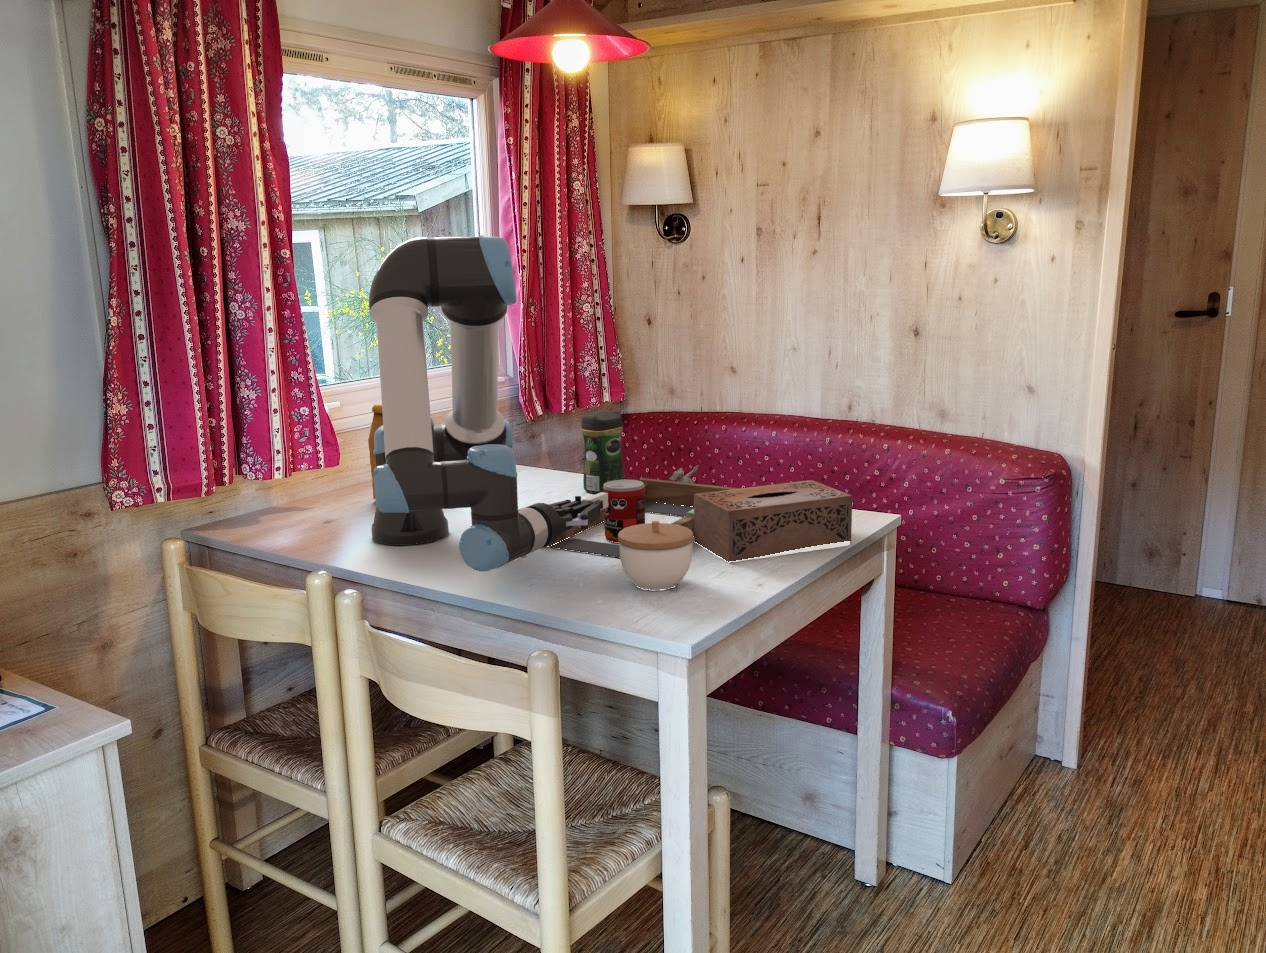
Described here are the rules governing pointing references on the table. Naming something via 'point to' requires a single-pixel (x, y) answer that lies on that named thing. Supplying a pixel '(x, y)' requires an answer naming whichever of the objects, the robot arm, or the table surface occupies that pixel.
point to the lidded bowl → (655, 554)
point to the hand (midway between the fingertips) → (604, 499)
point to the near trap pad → (589, 547)
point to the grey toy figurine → (685, 478)
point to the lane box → (662, 500)
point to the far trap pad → (667, 508)
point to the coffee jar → (602, 449)
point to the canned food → (623, 506)
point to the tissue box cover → (771, 519)
